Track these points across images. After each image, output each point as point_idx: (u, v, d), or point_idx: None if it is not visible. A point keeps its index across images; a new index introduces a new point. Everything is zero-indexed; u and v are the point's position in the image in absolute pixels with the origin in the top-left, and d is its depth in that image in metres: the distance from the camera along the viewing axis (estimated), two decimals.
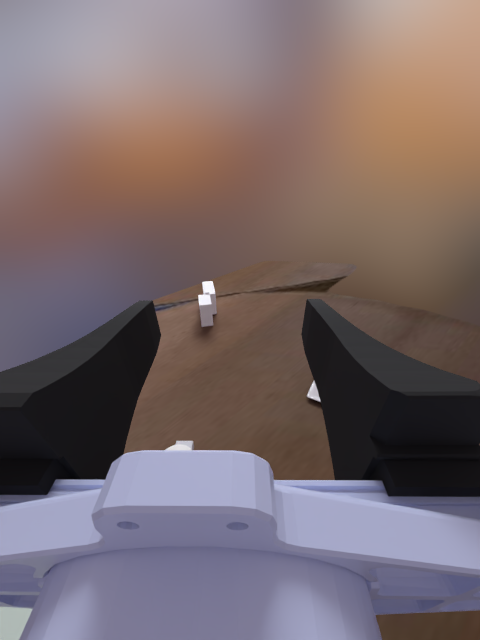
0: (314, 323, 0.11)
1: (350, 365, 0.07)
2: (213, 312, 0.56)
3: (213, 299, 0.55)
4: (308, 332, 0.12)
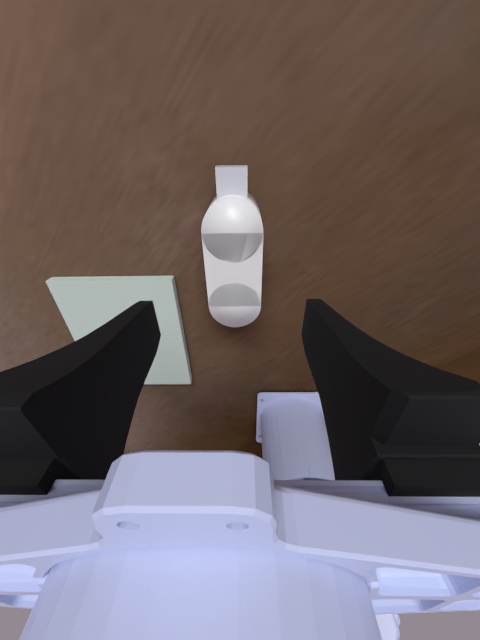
0: (314, 323, 0.11)
1: (351, 365, 0.07)
2: None
3: None
4: (308, 332, 0.12)
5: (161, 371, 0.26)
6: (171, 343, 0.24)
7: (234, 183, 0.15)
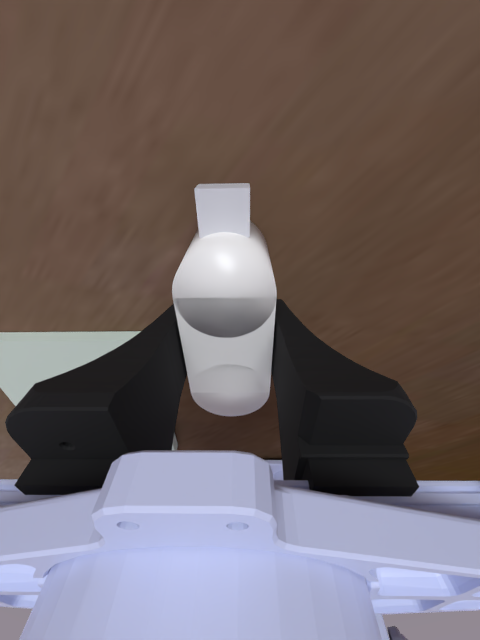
0: None
1: (289, 365, 0.07)
2: None
3: None
4: None
5: None
6: None
7: (228, 214, 0.09)
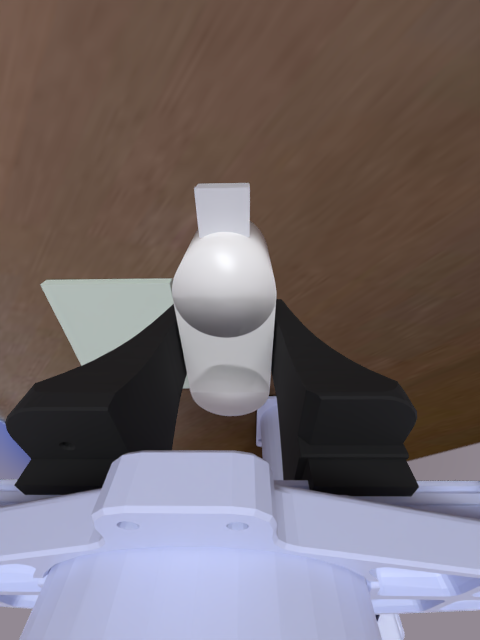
0: None
1: (289, 365, 0.07)
2: None
3: None
4: None
5: None
6: None
7: (227, 214, 0.09)
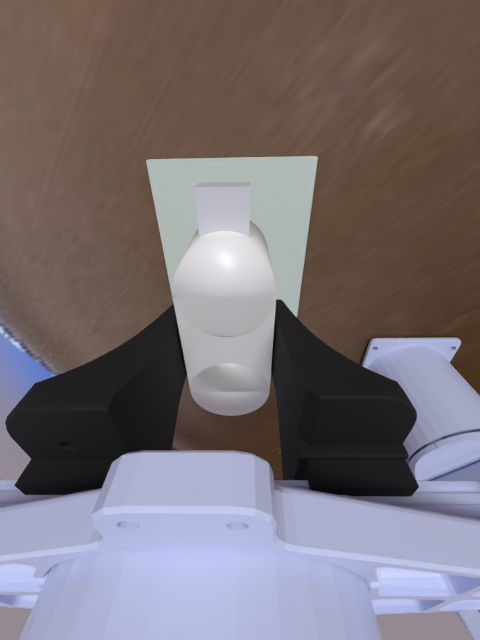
0: None
1: (289, 365, 0.07)
2: None
3: None
4: None
5: None
6: (288, 262, 0.19)
7: (227, 213, 0.09)
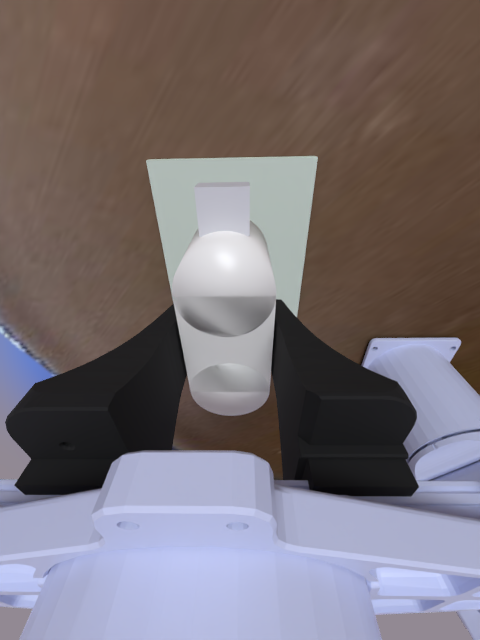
0: None
1: (289, 365, 0.07)
2: None
3: None
4: None
5: None
6: (288, 262, 0.19)
7: (227, 213, 0.09)
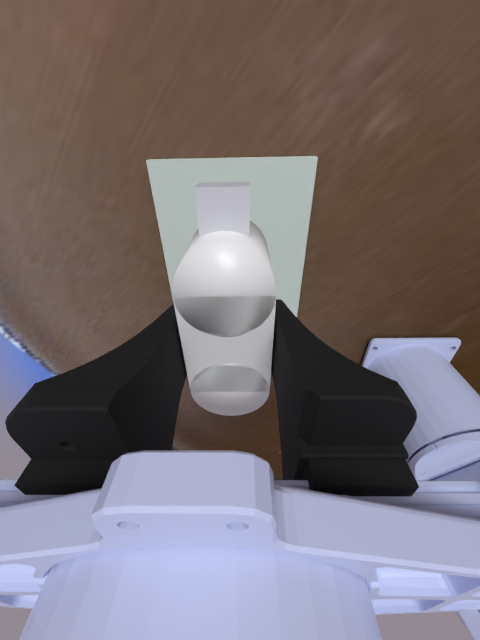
0: None
1: (289, 365, 0.07)
2: None
3: None
4: None
5: None
6: (288, 262, 0.19)
7: (227, 213, 0.09)
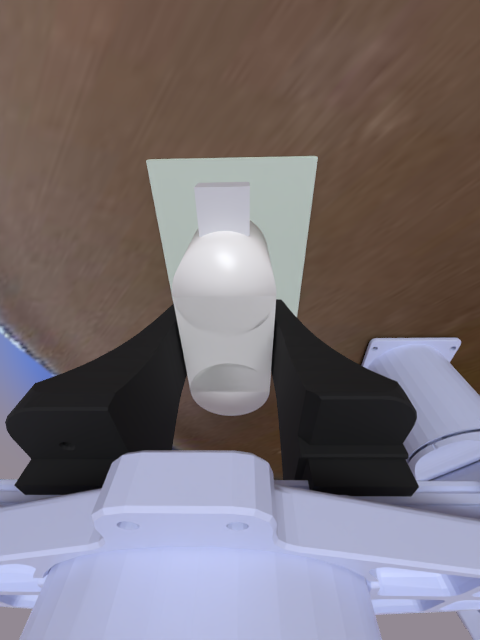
0: None
1: (289, 365, 0.07)
2: None
3: None
4: None
5: None
6: (288, 262, 0.19)
7: (227, 213, 0.09)
